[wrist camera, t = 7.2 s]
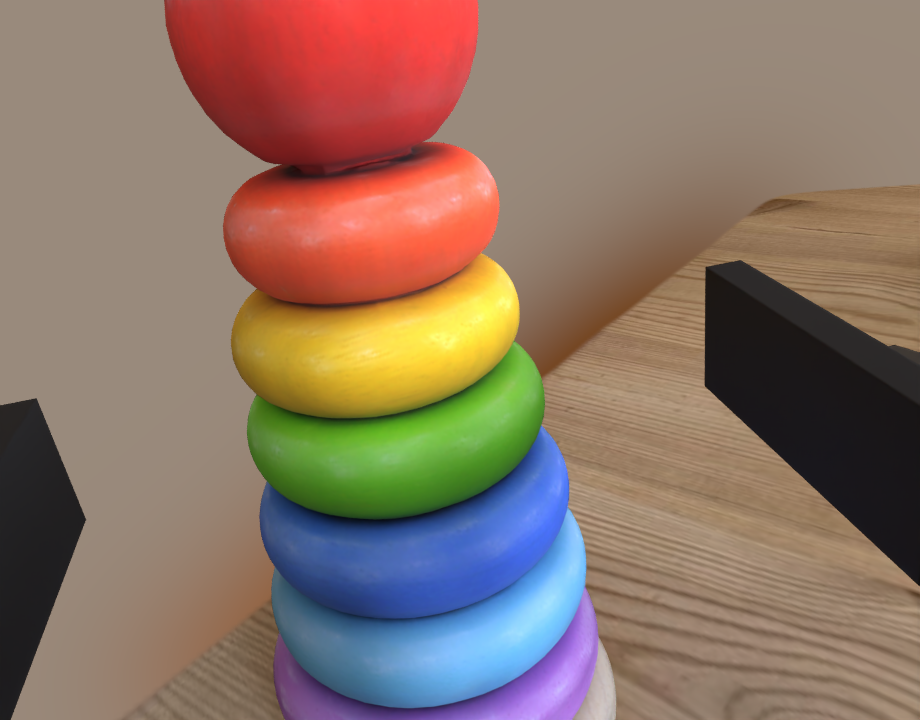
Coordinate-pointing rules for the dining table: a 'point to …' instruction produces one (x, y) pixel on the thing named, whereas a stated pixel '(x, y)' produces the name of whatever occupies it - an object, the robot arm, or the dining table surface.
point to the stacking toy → (389, 375)
